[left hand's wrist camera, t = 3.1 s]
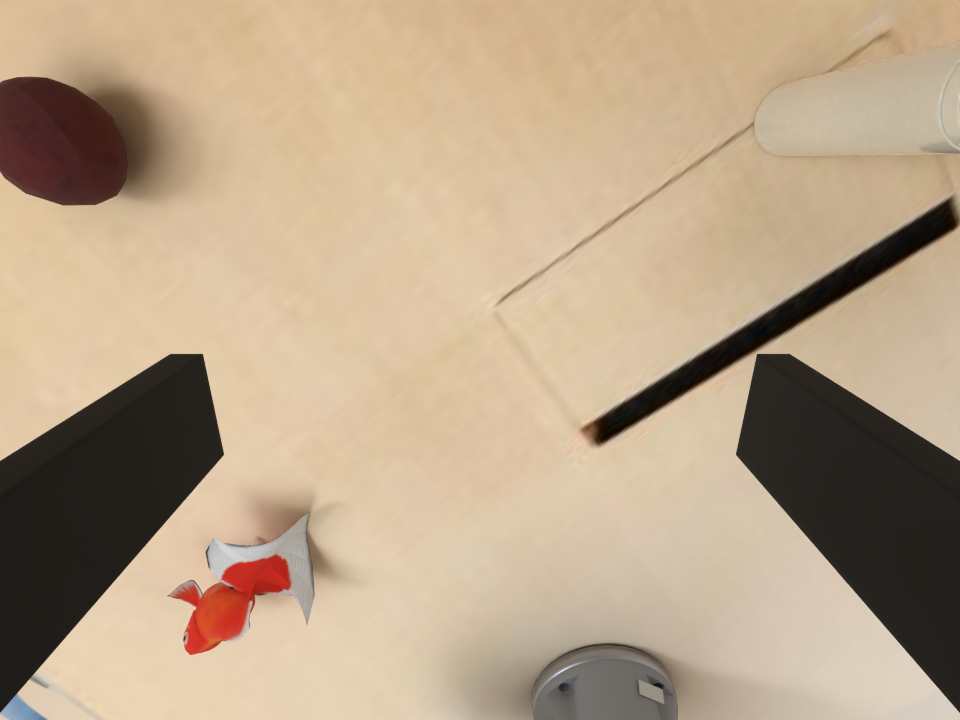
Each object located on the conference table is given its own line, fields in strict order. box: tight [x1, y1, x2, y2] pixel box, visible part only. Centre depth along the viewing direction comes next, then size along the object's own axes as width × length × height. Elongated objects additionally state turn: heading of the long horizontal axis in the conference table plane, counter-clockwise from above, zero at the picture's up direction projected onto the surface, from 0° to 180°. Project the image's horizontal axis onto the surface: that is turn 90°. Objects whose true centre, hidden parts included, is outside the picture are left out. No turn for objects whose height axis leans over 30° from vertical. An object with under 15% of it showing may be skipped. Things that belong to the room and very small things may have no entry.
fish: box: [168, 512, 314, 655], centre depth 45 cm, size 11×16×10 cm
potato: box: [0, 77, 128, 205], centre depth 33 cm, size 7×8×7 cm
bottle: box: [754, 40, 960, 156], centre depth 26 cm, size 5×5×21 cm
